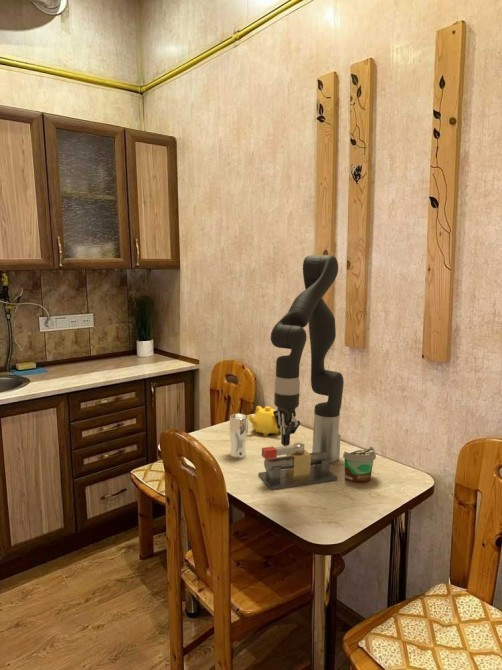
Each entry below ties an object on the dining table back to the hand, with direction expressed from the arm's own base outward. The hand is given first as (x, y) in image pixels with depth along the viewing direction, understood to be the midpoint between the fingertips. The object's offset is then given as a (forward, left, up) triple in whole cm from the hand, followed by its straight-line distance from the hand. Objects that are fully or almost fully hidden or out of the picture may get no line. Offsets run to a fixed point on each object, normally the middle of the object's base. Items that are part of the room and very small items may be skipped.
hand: (285, 444), depth 144 cm
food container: (-29, 0, -16) cm, 33 cm away
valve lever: (-3, -8, -7) cm, 10 cm away
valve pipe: (-9, -8, -16) cm, 20 cm away
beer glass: (+4, -32, -16) cm, 36 cm away
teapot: (-16, -52, -16) cm, 57 cm away
